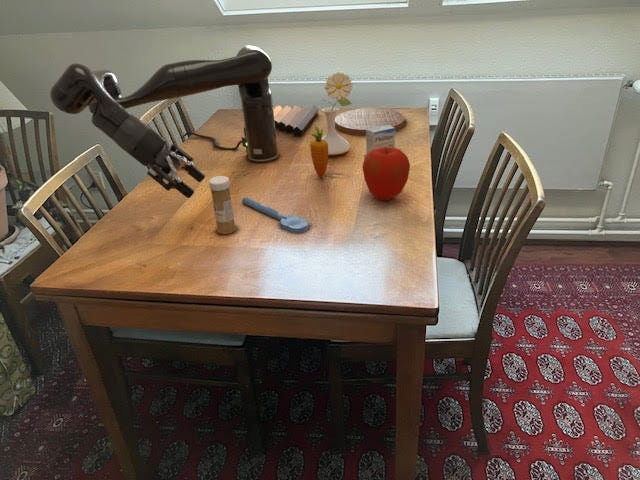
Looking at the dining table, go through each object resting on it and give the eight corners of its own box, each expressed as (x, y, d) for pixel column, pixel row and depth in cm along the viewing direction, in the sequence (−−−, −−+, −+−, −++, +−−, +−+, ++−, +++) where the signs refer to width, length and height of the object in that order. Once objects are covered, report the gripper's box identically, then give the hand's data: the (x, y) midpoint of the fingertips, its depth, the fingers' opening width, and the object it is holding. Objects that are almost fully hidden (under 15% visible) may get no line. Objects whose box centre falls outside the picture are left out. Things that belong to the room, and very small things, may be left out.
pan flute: (302, 136, 182) (318, 114, 203) (301, 126, 180) (318, 105, 201) (234, 134, 188) (257, 112, 208) (233, 125, 186) (256, 104, 207)
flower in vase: (308, 156, 165) (303, 75, 152) (322, 144, 174) (318, 66, 161) (348, 161, 161) (345, 77, 148) (359, 147, 170) (358, 68, 157)
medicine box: (373, 160, 160) (373, 132, 156) (365, 155, 164) (365, 128, 159) (395, 154, 163) (395, 127, 159) (387, 150, 166) (387, 123, 162)
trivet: (408, 133, 179) (408, 128, 178) (335, 136, 180) (335, 131, 179) (400, 111, 200) (400, 106, 200) (334, 114, 201) (334, 109, 200)
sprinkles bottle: (213, 231, 127) (204, 180, 120) (227, 224, 130) (219, 173, 123) (225, 237, 124) (217, 184, 117) (240, 229, 127) (232, 178, 120)
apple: (396, 211, 130) (397, 158, 123) (354, 202, 136) (353, 150, 129) (416, 192, 139) (418, 141, 132) (375, 184, 145) (375, 135, 138)
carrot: (327, 182, 148) (325, 130, 140) (310, 181, 149) (307, 130, 141) (331, 175, 152) (328, 124, 144) (314, 174, 153) (311, 124, 145)
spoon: (236, 206, 138) (235, 199, 137) (251, 199, 141) (250, 193, 140) (296, 235, 123) (296, 228, 122) (312, 227, 126) (312, 220, 125)
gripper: (142, 140, 125) (197, 184, 129) (116, 164, 113) (178, 211, 117) (159, 118, 121) (215, 164, 126) (135, 139, 109) (197, 189, 114)
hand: (197, 187), depth 122 cm, fingers open, 8 cm apart
